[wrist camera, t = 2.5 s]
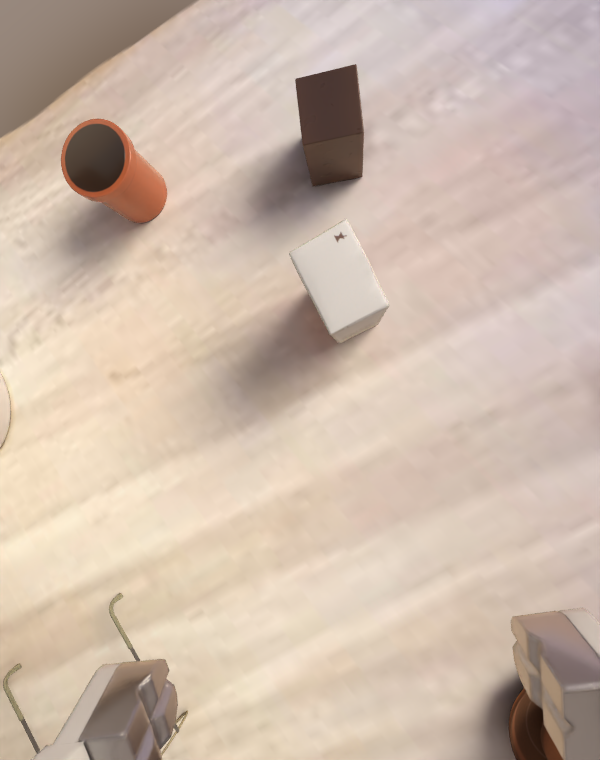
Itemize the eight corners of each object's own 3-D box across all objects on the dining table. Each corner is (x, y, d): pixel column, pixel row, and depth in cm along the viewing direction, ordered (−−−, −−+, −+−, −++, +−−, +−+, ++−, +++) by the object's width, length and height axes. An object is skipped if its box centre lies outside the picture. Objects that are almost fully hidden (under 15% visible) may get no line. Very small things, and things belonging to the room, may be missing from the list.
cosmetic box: (310, 289, 34) (285, 249, 23) (350, 267, 34) (347, 214, 22) (338, 346, 34) (329, 337, 22) (380, 325, 34) (393, 304, 22)
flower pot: (116, 232, 37) (65, 203, 31) (108, 169, 37) (55, 127, 30) (174, 220, 36) (134, 189, 30) (166, 156, 36) (124, 110, 29)
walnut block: (312, 186, 34) (302, 145, 28) (306, 132, 34) (295, 78, 27) (362, 177, 33) (364, 132, 27) (356, 122, 33) (356, 63, 27)
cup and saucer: (629, 644, 31) (695, 711, 25) (665, 778, 31) (740, 877, 25) (486, 663, 33) (515, 730, 27) (520, 789, 33) (557, 884, 27)
